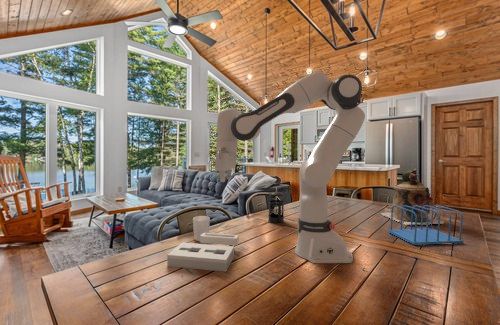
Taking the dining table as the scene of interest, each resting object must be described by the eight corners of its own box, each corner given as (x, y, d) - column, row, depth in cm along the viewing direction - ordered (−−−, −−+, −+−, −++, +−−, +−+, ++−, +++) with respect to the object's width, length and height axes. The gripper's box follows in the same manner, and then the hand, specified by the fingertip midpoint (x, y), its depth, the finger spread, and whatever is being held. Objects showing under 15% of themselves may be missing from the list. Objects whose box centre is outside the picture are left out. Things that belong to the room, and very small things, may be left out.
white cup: (206, 242, 111) (206, 220, 111) (190, 240, 113) (190, 219, 112) (212, 236, 119) (212, 216, 119) (197, 235, 121) (197, 215, 120)
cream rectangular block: (238, 248, 105) (238, 234, 104) (236, 252, 101) (236, 238, 100) (203, 245, 107) (203, 232, 107) (200, 249, 103) (199, 235, 103)
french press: (287, 223, 142) (288, 183, 141) (272, 224, 139) (273, 184, 138) (278, 217, 153) (278, 181, 152) (264, 219, 150) (265, 181, 149)
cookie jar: (379, 215, 161) (380, 167, 160) (413, 214, 164) (415, 167, 163) (406, 226, 137) (409, 170, 135) (446, 225, 140) (449, 170, 138)
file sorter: (414, 246, 109) (415, 212, 108) (387, 233, 126) (388, 204, 125) (463, 244, 112) (465, 211, 111) (431, 231, 129) (432, 203, 128)
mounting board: (234, 256, 96) (234, 246, 96) (226, 271, 85) (226, 259, 84) (182, 252, 100) (182, 242, 100) (167, 266, 88) (167, 254, 88)
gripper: (227, 147, 92) (226, 184, 92) (239, 148, 112) (238, 178, 112) (211, 147, 93) (210, 183, 93) (225, 147, 113) (224, 177, 113)
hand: (225, 180), depth 103 cm, fingers open, 8 cm apart
